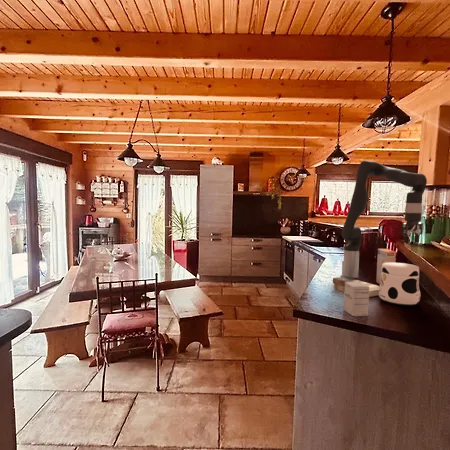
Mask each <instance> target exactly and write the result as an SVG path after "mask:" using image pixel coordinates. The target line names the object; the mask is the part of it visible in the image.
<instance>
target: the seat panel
mask: <svg viewBox="0 0 450 450" xmlns="http://www.w3.org/2000/svg"><path fill="white" fill-rule="evenodd" d="M352 281H353V282H361V283H363V284H365V285H367V286H369V298H370V297H376V296H379V286H380V285H377V284H373V283H369V282H365V281H361V280H358V279H354V280H352ZM333 289H334V290H337V291H341V292H343V293H345V287H343V286H340V285H336V284H333Z"/></svg>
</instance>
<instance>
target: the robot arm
mask: <svg viewBox="0 0 450 450" xmlns="http://www.w3.org/2000/svg"><path fill="white" fill-rule="evenodd" d="M368 177H381V178H385V179H386V180H388V181H391V182H394V183H398V184H401V185H403V186H405V187H409V188H411V191H410V192H407V194H406V200H405V201H406V202H405V208H404V221H405V222H402V224H401V233H400V234H401V235H402V236H404V237H403V243H404V244H409V243H410V235H411V234H412V233H413V234H414V237H413V242H414V243H419V242H420V236H421V235H423V232H424V228H423V227H424V225H423V224H424V223H423V222H422V217H423V195H424V193H425V189H426V187H427V183H428V181H427V177H426V175H425V174H423V173H415V172H408V171H406V170H404V169H400V168H395V167H390V166H385V165H383V164H381V163H380V162H377V161H375V160H362V161H361V162H360V163H359V165H358V167H357V173H356V180H355V185H354V190H353V193H352V196H351V199H350V200H351V202H350V205H349V209H348V213H347V216H346V219H345V221H344V223H343V227H342V230H341V236H342V239H343V240H345V241H348V242H347V244H345V245H344V246H343V260H342V261H341V262H342V263H341V264H342V265H341V276H343V277H345V278H359V266H360V265H359V264H360V263H359V262H360V248H361V246H362V245H361V244H362V228H361V227H360V226H358V225H356V222H357V220H358V219H359V217H361V215H362V214H363V213H364V211H365V210H366V208H367V204H368V202H369V195H368V190H367V180H368Z"/></svg>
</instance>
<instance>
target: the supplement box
mask: <svg viewBox="0 0 450 450" xmlns="http://www.w3.org/2000/svg"><path fill="white" fill-rule="evenodd" d="M343 300H344V301H343V311H345V312H347V313H348V314H349V315H350V316H352V317H361V316H362V317H364V316H365V317H366V316H369V304H370V303H369V300H370V297H369V286H367V285H365V284H363V283H361V282H345V292H344V298H343Z"/></svg>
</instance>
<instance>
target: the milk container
mask: <svg viewBox="0 0 450 450" xmlns="http://www.w3.org/2000/svg"><path fill="white" fill-rule="evenodd" d="M378 286H379V295H378V296H379V298H380V300H382V301H384V302H385V303H388V304H391V305H396V306H405V307H410V306H415V305H418V304H419V303H420V300H421V296H422V295H421V294H422V293H421V290H420V267H419V266H418V265H415V264H410V263H405V262H395V263H383V264H382V272H381V283H380V285H378Z"/></svg>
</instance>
